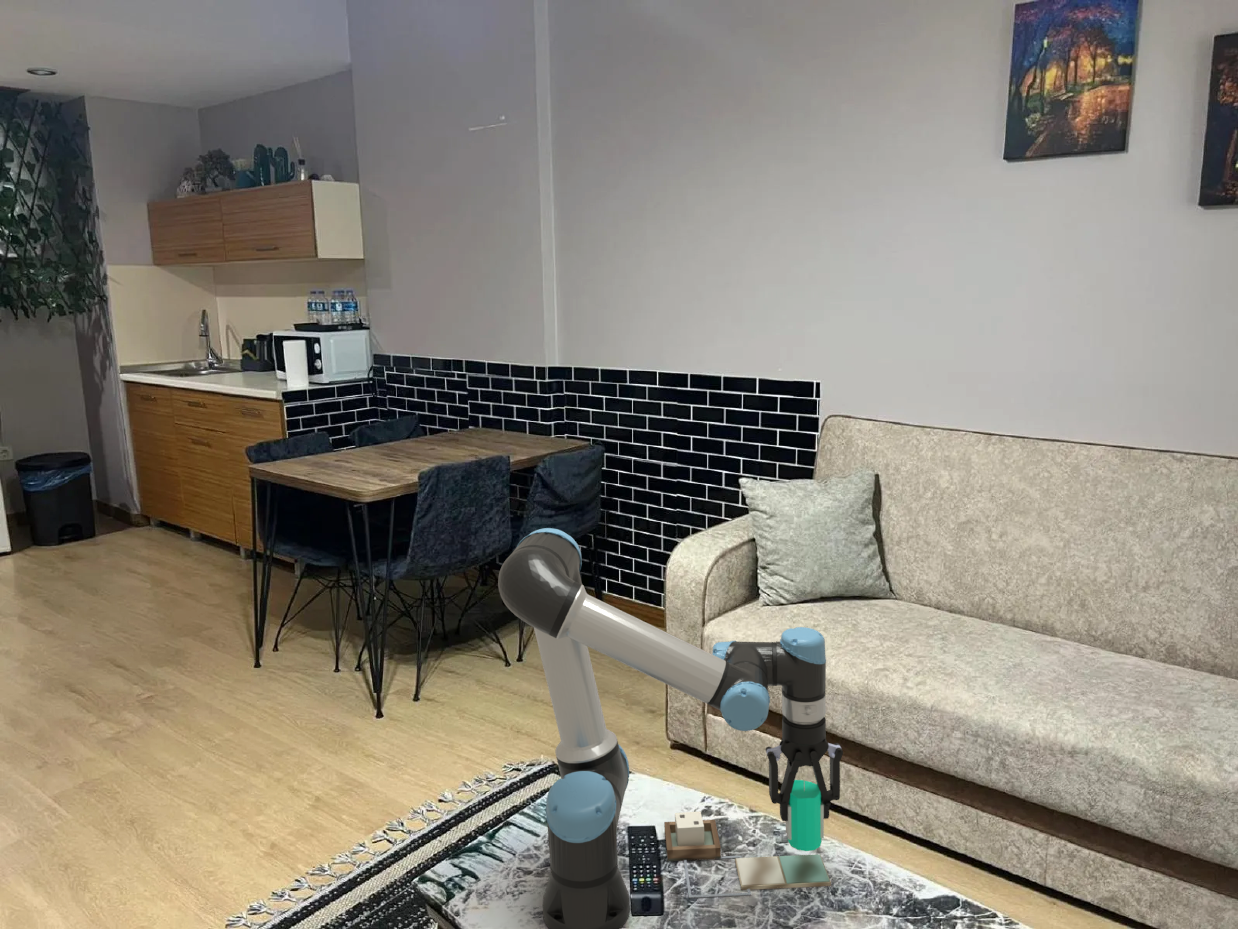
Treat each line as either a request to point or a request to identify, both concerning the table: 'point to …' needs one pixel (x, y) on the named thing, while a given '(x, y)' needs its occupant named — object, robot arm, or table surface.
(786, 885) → the beige green flat slab
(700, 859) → the pad
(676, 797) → the table surface
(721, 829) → the table surface
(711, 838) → the tray
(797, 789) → the candle
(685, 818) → the die
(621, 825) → the table surface
